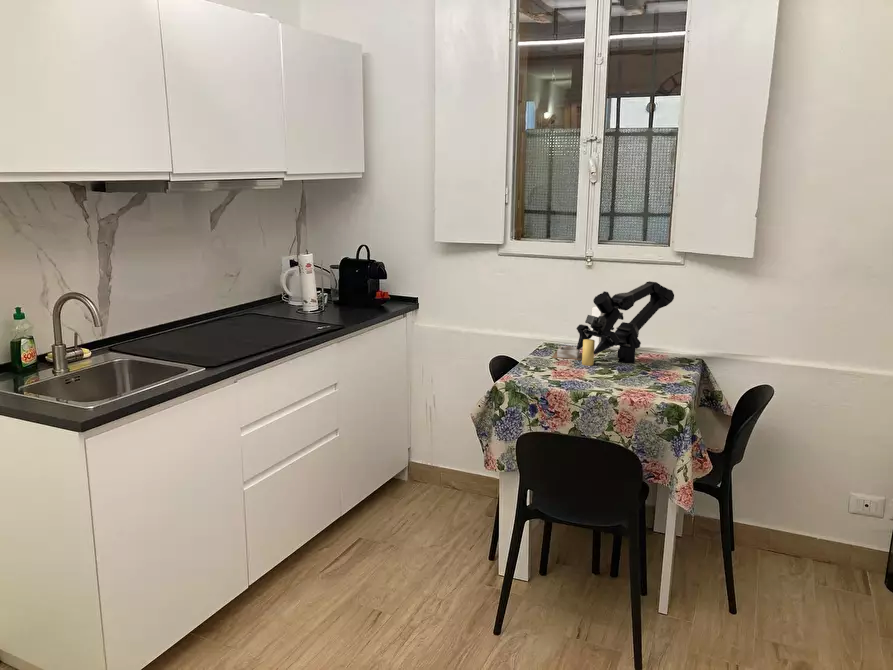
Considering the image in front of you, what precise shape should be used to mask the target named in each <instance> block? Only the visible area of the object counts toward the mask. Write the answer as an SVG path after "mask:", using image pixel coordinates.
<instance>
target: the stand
mask: <svg viewBox="0 0 893 670" xmlns="http://www.w3.org/2000/svg"><path fill="white" fill-rule="evenodd" d="M580 349H581V348H580ZM580 349H579V350H578V349H577V346H567V345H566V346H565V345H560V346H558V348H557V349H556V351H555V352H554V353H553V355H552V356H551V358H552V359H562V360H576V361H582V353H580V352H581V351H580Z"/></svg>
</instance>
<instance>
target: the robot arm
mask: <svg viewBox="0 0 893 670" xmlns="http://www.w3.org/2000/svg"><path fill="white" fill-rule="evenodd" d="M648 296H649V301H648V302H647V303H646V305H644V307H642V308H641V310H639V312H638V313H637V314H636V315H635V316H634V317H633V318H632V319H631V321H629V322H625V321H622V322H621V323H620V325H619V326H617V327H616V329H615V327H614V325H616V323H617V322H618V320H624V319H625V318H624V313H623V312H621V311H628V310H630V309H631V308H632V307H634V305H635V303H636V302H638V301H640V300H642V299H644V298H646V297H648ZM674 299H675V294H674V291H673V289H670V288H667V287H665V286H663V285H661V284H660V283H658V282H656V281H650V280H649V281H646V282H645V283H644V284H642V285H640V286H638V287H635V288H633V289H632V290H630V291H628V292H619V293H616V294H614V295H612V296H611V295H610V293H609V292H608V291H603V292H602V293H600V294H597V295H596V296H595V297H594V298H593V303H594V305H595V306H597V308H598V309H599V311H600V312H601V313H604V314H603V316H599V317H595V316H592V314H587V316H586V319H585V324H579V325H578V326H577V327H576V330H577V333H578V334H579V337H578V342H577V345H576V347H577V349H578V350H579V349H583V340H584V339H591V337H592V336H596V337H600V338H601V341H600V343H599V344H598V346H597V347H596V349H594V355H598V354H599V353H601V352H603V351H606V350H605V349H608V348H610V349H611V347H612V348H614V347H617V346H619V348H617V355H616V356H617V357H616V358H617V360H618V361H617V362H618V363H625V364H626V363H629V364H635V362H636V351H637V350H638V349H639V348H641V344H642V341H640V340H639V333H640V330H641V329H642V328H643V327H644V326H645V325H646V324H647V322H648V321H650V319H651V318H652V317H653V316H654V315H655V314H656V313H657V311H659V310H660V309H661V308H664V307H667V306H669V305H670V304H671V303H672V302H673V301H674ZM586 324H588V325H586ZM589 326H590V327H589ZM591 328H593V330H591ZM610 330H611V331H610ZM614 330H615V331H614Z"/></svg>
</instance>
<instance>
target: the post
mask: <svg viewBox="0 0 893 670" xmlns="http://www.w3.org/2000/svg"><path fill="white" fill-rule="evenodd" d="M594 346H595V340H592V339H591V338H590V339H584V340H583V347H582V353H581V354H582V360H581V365H582V366H587V367H588V366H589V367H591V366H594V363H595V362H594V361H595V354H594V351H595V349H594Z"/></svg>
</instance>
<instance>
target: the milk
mask: <svg viewBox="0 0 893 670" xmlns="http://www.w3.org/2000/svg"><path fill="white" fill-rule="evenodd" d="M591 309H592V310H591V316H595V317H599V316H603V314H604V313H601V312H600V311H599V309H598V308H597V306H596V305H595V306H593V307H592V308H591ZM590 330H593V328H591V327H590ZM610 331H612V330H610ZM590 339H592V340H595V346H594V350H595V349H596V347H597V346H598V344H599V343H600V341H601V338H600V337H596V336H592V337H591V338H590ZM610 349H611V347H610V348H608V349H605V350H604V351H607V350H610Z"/></svg>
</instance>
